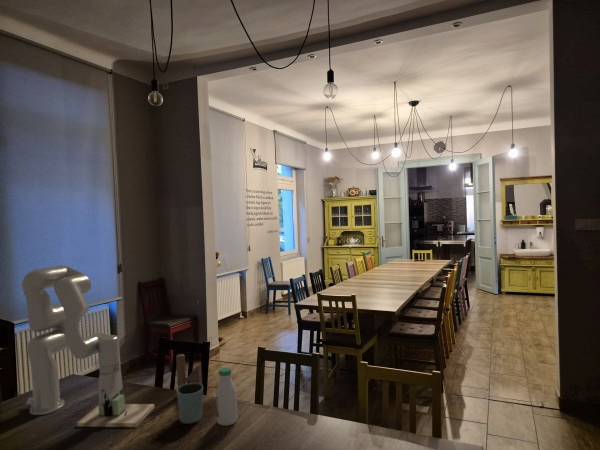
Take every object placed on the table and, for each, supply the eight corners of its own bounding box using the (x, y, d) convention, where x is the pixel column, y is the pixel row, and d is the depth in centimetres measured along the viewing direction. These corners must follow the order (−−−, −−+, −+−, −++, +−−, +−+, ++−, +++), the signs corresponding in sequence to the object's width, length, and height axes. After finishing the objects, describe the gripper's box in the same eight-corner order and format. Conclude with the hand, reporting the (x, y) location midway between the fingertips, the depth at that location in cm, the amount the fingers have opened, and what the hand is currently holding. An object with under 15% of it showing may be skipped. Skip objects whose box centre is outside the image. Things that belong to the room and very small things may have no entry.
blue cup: (185, 410, 164) (184, 381, 164) (209, 412, 162) (207, 382, 162) (173, 424, 154) (171, 393, 154) (197, 425, 152) (196, 394, 152)
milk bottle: (241, 417, 156) (239, 367, 156) (230, 428, 149) (227, 374, 149) (225, 414, 160) (222, 364, 159) (213, 424, 153) (210, 372, 152)
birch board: (76, 426, 155) (76, 422, 155) (99, 407, 170) (99, 403, 170) (136, 427, 153) (136, 423, 153) (154, 407, 168) (154, 404, 168)
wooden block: (199, 398, 175) (197, 357, 175) (176, 397, 177) (174, 356, 176) (203, 394, 179) (200, 354, 178) (180, 393, 180) (178, 353, 180)
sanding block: (99, 416, 159) (98, 400, 159) (106, 410, 164) (105, 394, 164) (118, 416, 158) (117, 400, 158) (125, 410, 163) (124, 394, 163)
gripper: (113, 359, 170) (115, 402, 170) (88, 376, 153) (90, 423, 153) (130, 359, 169) (132, 402, 169) (106, 376, 152) (109, 423, 152)
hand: (112, 411), depth 161 cm, fingers closed on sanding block, 5 cm apart
